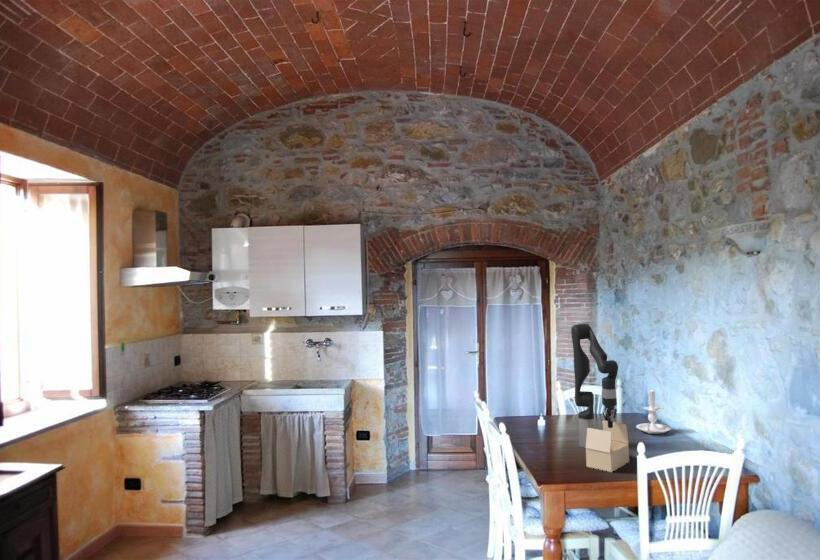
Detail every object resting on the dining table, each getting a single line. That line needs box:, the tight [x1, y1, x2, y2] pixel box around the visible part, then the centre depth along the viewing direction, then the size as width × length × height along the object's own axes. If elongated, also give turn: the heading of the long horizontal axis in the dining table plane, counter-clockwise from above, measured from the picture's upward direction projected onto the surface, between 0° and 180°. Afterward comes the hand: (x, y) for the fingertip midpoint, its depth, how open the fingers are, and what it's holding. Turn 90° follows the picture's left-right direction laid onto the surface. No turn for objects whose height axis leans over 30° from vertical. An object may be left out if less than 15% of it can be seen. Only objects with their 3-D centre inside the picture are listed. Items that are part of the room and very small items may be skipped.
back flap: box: [602, 420, 630, 444], centre depth 295 cm, size 11×14×1 cm
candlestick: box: [635, 389, 671, 435], centre depth 343 cm, size 21×25×28 cm
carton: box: [585, 441, 630, 474], centre depth 287 cm, size 22×14×10 cm, turn 134°
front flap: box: [585, 428, 612, 453], centre depth 281 cm, size 11×14×1 cm
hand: (610, 427), depth 291 cm, fingers closed
